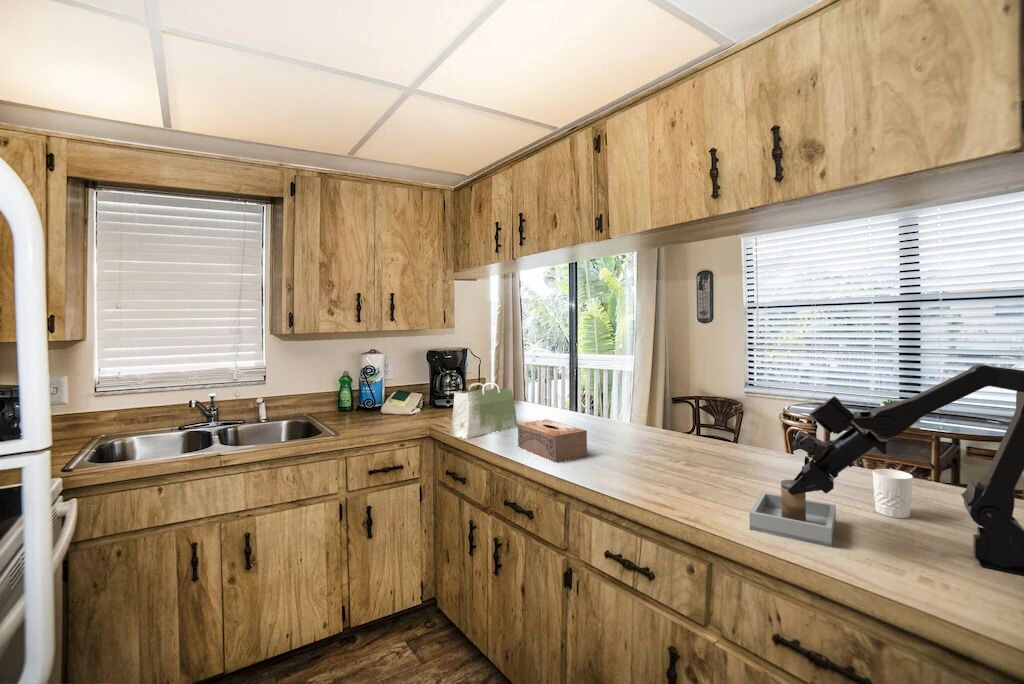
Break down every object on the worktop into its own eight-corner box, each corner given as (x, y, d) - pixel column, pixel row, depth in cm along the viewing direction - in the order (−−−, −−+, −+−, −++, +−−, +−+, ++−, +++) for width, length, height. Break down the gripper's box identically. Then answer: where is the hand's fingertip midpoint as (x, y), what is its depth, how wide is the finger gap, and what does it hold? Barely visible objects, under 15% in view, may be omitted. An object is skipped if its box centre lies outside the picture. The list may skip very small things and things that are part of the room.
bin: (835, 521, 115) (835, 504, 115) (831, 546, 102) (831, 528, 102) (762, 507, 124) (761, 492, 124) (749, 529, 112) (749, 512, 112)
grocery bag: (499, 423, 240) (497, 377, 239) (518, 427, 230) (517, 379, 229) (448, 435, 217) (446, 384, 216) (467, 439, 207) (465, 386, 206)
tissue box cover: (587, 456, 176) (586, 430, 176) (555, 463, 169) (554, 435, 169) (547, 442, 199) (547, 419, 198) (518, 448, 191) (517, 423, 191)
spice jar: (810, 519, 112) (810, 484, 112) (797, 524, 110) (796, 488, 110) (790, 512, 116) (789, 478, 116) (776, 516, 114) (776, 481, 114)
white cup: (894, 506, 123) (894, 468, 122) (921, 518, 115) (921, 478, 114) (864, 507, 122) (864, 469, 122) (890, 520, 114) (890, 479, 114)
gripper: (818, 414, 117) (768, 453, 124) (814, 429, 102) (757, 472, 109) (858, 450, 113) (804, 488, 120) (859, 471, 98) (798, 513, 104)
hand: (790, 489), depth 113 cm, fingers closed on spice jar, 5 cm apart
